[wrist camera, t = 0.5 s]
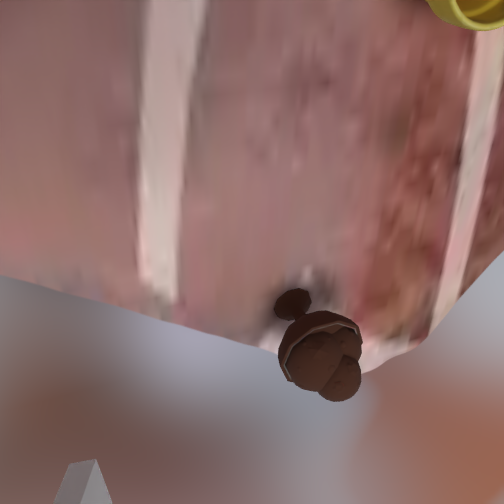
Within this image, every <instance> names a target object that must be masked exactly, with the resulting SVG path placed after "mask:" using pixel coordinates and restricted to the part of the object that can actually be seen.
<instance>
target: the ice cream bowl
mask: <svg viewBox="0 0 504 504" xmlns="http://www.w3.org/2000/svg"><path fill="white" fill-rule="evenodd" d="M310 305H311V298H310V295H309V292H308V291H305V290H303V289H300V288H298V289H294V290H290V291H287V292H286V293H285V294H283V295H282V296H281V297H280V298H279V299H278V300H277V302H276V305H275V307H274V310H275V312H276V314H277V316H278V317H279V318H281V319H284V320H288V321H289V320H293V319H295V322H294V323H292V324H291V325H290V326H289V327H288V329H287V330H286V332H285V334H284V337H283V339H282V342H281V344H280V346H279V350H278V359H279V363H280V367H281V369H282V371H283V373H284V375H285V377H286V379H287V381H290V382H294V383H295V385H296V386H298V387H300V388H302V389H304V390H309V391H315V392H316V391H317V392H318V393H319V394H320V395H321V396H322V397H324V398H325V399H327V400H330V401H333V402H335V401H336V402H337V401H344V400H347V399H349V398H351V397H352V396H353V395H354V394H355V393H356V392H357V391H358V389H359V387H360V383H361V369H360V366H359V363H358V361H359V359H360V356H361V353H362V350H361V345H362V343H363V341H362V337H361V334H360V330H359V326H357V325H356V324H355V323H354V322H353V321H352V320H350V319H348V318H346V317H344V316H342V315H339V314H336V313H333V312H330V311H317V312H313V313H309V314H306V312H307V311H308V309H309V307H310Z"/></svg>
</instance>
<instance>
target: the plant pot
mask: <svg viewBox="0 0 504 504" xmlns="http://www.w3.org/2000/svg"><path fill="white" fill-rule="evenodd" d="M425 1H426V2H428V4H429V6H430V8H431V9H432V11H433V12H434V13H435V14H436V15H437V16H438V17H439V18H440V19H441V20H443V21H445V22H447V23H449V24H452V25H455V26H458V27H462V28H466V29H471V30H476V31H489V30H493V29H497V28H500V27H502V26H504V0H425Z"/></svg>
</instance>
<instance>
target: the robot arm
mask: <svg viewBox="0 0 504 504" xmlns="http://www.w3.org/2000/svg"><path fill="white" fill-rule="evenodd" d="M53 504H113V503H112V501H111V498H110V495H109V492H108V490H107V487H106V485H105V482H104V479H103V476H102V474H101V471H100V469H99V466H98V463H97V460H96V459H93V460H88V461H83V462H78V463H73V464H69V467H68V469H67V472H66V474H65V476H64V479H63V481H62V484H61V486H60V488H59V491H58V493H57V496H56V498H55V500H54V503H53Z"/></svg>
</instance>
